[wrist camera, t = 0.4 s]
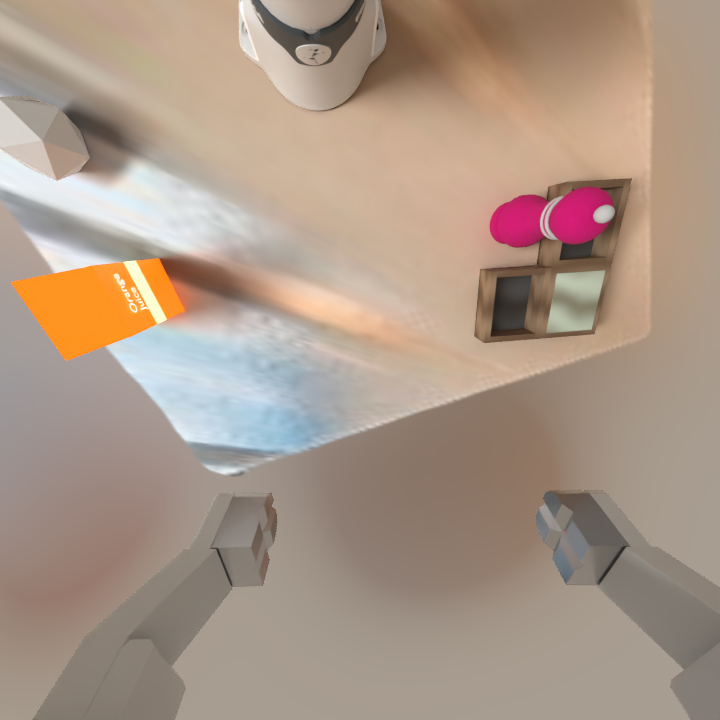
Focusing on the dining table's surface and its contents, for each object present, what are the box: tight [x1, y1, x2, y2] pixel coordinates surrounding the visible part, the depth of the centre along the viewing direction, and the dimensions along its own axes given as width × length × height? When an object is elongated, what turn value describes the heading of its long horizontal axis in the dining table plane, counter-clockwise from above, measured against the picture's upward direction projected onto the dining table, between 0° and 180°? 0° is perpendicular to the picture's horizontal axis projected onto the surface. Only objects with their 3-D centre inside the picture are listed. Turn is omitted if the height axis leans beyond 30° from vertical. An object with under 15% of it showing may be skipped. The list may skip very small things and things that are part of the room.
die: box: [0, 96, 90, 180], centre depth 38 cm, size 8×9×10 cm
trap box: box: [475, 178, 632, 343], centre depth 50 cm, size 24×20×4 cm
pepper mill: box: [490, 186, 615, 247], centre depth 40 cm, size 7×7×20 cm
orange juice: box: [11, 259, 185, 360], centre depth 40 cm, size 8×9×20 cm
